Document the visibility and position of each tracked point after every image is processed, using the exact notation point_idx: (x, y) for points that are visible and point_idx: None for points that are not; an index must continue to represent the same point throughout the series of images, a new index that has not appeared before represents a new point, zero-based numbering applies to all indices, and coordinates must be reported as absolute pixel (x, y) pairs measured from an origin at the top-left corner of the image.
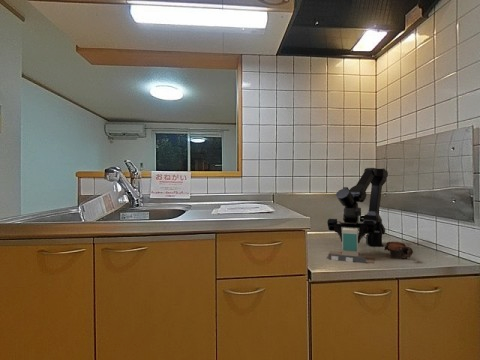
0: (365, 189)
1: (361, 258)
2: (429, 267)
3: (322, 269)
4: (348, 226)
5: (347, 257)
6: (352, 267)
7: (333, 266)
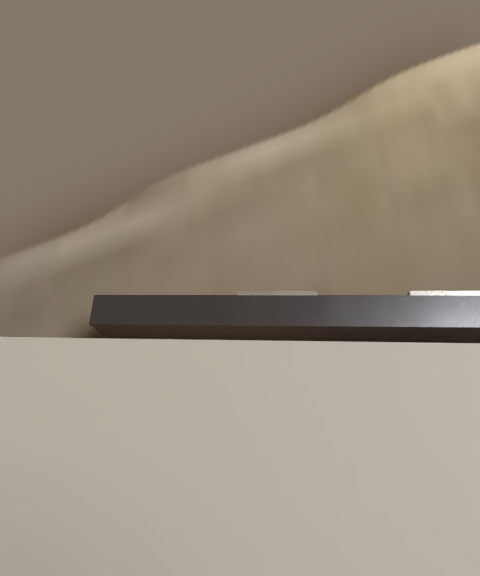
0: None
1: (142, 298)
2: None
3: (473, 93)
4: None
5: (297, 291)
6: (245, 226)
7: (409, 194)
